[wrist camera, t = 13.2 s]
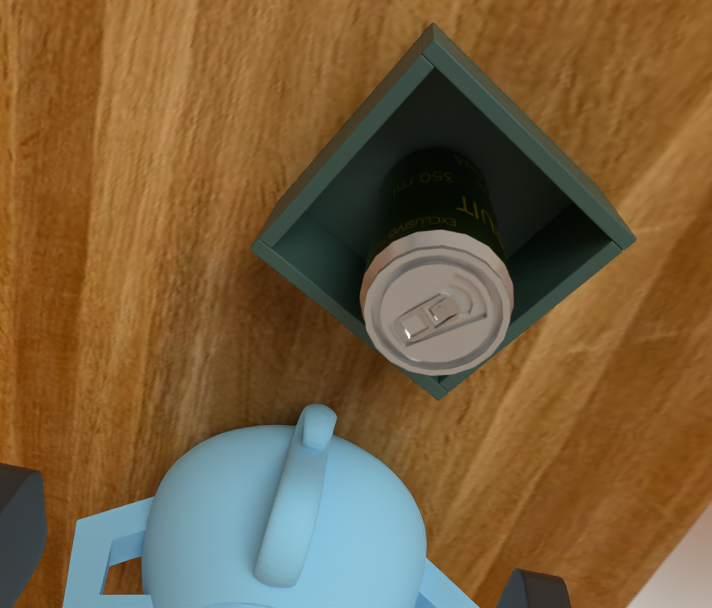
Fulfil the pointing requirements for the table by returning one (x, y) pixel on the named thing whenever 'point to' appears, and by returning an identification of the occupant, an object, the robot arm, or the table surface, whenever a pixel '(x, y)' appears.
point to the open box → (488, 153)
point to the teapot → (267, 530)
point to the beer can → (436, 267)
